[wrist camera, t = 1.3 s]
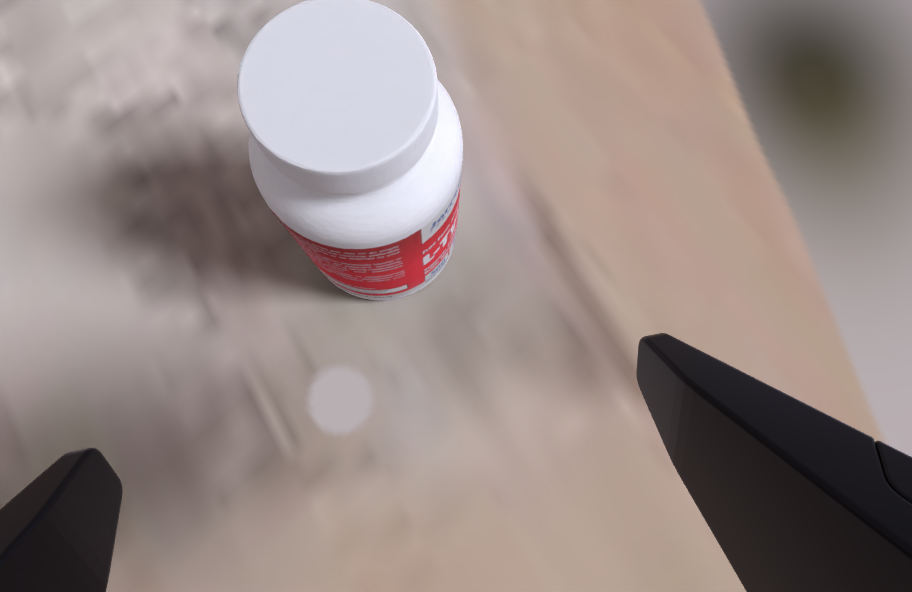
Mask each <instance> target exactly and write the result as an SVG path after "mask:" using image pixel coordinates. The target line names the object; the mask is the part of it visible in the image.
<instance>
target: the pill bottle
mask: <svg viewBox="0 0 912 592" xmlns="http://www.w3.org/2000/svg"><path fill="white" fill-rule="evenodd" d="M237 94H238V101H239V106H240V110H241V113H242V116H243V118H244V120H245V123H246V125H247V127H248V129H249V141H248V151H249V163H250V167H251V171H252V174H253V177H254V180H255V183H256V185H257V187H258V189H259V191H260V193H261V195H262V196H263V198H264V200H265V201H266V203H267V205H268V207H269V208H270V209H271V211H272V212H273V213H274V214H275V216H276V217H277V218H278V219H279V221H280V222H281V223H282V224H283V225H284V227H285V228H286V229H287V230H288V231H289V233H290V234H291V235H292V237H293V238H294V239H295V240H296V241H297V243H298V244H299V245H300V246H301V247H302V249H303V250H304V251H305V252H306V254H307V255H308V256H309V257H310V259H311V260H312V261H313V262H314V263H315V265H316V266H317V267H318V269H319V270H320V271H321V272H322V273H323V274H324V275H325V276H326V277H327V278H328V279H329V280H330V281H331V282H332V283H333V284H335V285H336V286H337V287H339V288H340V289H342V290H344V291H345V292H347V293H349V294H352V295H354V296H357V297H360V298H364V299H369V300H392V299H397V298H402V297H405V296H408V295H411V294H413V293H415V292H417V291H419V290H421V289H422V288H424V287H425V286H427V285H428V284H429V283H430V282H432V281H433V280H434V279H435V278H436V277H437V276H438V274H439V273H440V272H441V271H442V269H443V268H444V267H445V265H446V263H447V262H448V260H449V257H450V255H451V253H452V250H453V247H454V242H455V237H456V229H457V219H458V207H459V196H460V185H461V173H462V161H463V139H462V131H461V125H460V121H459V117H458V114H457V111H456V108H455V106H454V104H453V102H452V100H451V98H450V96H449V94H448V93H447V91H446V90H445V88H444V87H443V85H442V84H441V83H440V82H439V81H438V79H437V74H436V67H435V64H434V61H433V58H432V55H431V53H430V50H429V48H428V46H427V45H426V43H425V41H424V40H423V38H422V36H421V35H420V34H419V33H418V31H417V30H416V29H415V28H414V27H413V26H412V25H411V24H410V23H409V22H408V21H406V20H405V19H404V18H403V17H402V16H400V15H399V14H397V13H396V12H394V11H392V10H391V9H389V8H387V7H385V6H383V5H380V4H378V3H375V2H372V1H369V0H308V1H304V2H301V3H299V4H297V5H294V6H292V7H290V8H288V9H286V10H285V11H283V12H281V13H279V14H278V15H276V16H275V17H274V18H272V19H271V20H270V21H269V22H268V23H266V24H265V25H264V26H263V27H262V28H261V29H260V30H259V31H258V33H257V34H256V35H255V37H254V38H253V39H252V41H251V43H250V44H249V46H248V48H247V50H246V52H245V54H244V56H243V58H242V61H241V64H240V69H239V73H238V82H237Z"/></svg>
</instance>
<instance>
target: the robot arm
mask: <svg viewBox="0 0 912 592" xmlns="http://www.w3.org/2000/svg"><path fill="white" fill-rule="evenodd" d="M637 381H638V385H639V388H640V390H641V392H642V395H643V397H644V399H645V402H646V404H647V406H648V408H649V411H650V413H651V415H652V418H653V420H654V422H655V424H656V427H657V429H658V431H659V434H660V436H661V438H662V440H663V443H664V445H665V447H666V450H667V452H668V454H669V456H670V458H671V460H672V463H673V465H674V466H675V468H676V470H677V472H678V474H679V476H680V477H681V479H682V481H683V483H684V484H685V486H686V488H687V489H688V491H689V493H690V495H691V496H692V498H693V500H694V502H695V503H696V505H697V507H698V508H699V510H700V512H701V514H702V515H703V517H704V519H705V521H706V522H707V524H708V526H709V527H710V529H711V531H712V533H713V534H714V536H715V538H716V540H717V541H718V543H719V545H720V546H721V548H722V550H723V552H724V553H725V555H726V557H727V559H728V560H729V562H730V564H731V565H732V567H733V569H734V571H735V572H736V574H737V576H738V578H739V579H740V581H741V583H742V584H743V586H744V588H745V590H746V591H747V592H912V457H911V456H908V455H906V454H904V453H902V452H900V451H898V450H896V449H894V448H893V447H891V446H889V445H887V444H885V443H883V442H881V441H876V442H875V441H874V439H873V438H872V437H870V436H868V435H866V434H864V433H862V432H860V431H858V430H856V429H855V428H853V427H851V426H849V425H847V424H845V423H843V422H841V421H839V420H837V419H835V418H833V417H831V416H829V415H827V414H825V413H823V412H821V411H819V410H817V409H815V408H813V407H811V406H809V405H807V404H805V403H803V402H801V401H799V400H797V399H795V398H793V397H791V396H789V395H787V394H785V393H783V392H781V391H779V390H777V389H775V388H773V387H771V386H769V385H767V384H765V383H763V382H761V381H759V380H757V379H755V378H754V377H752V376H750V375H748V374H746V373H744V372H742V371H740V370H738V369H736V368H734V367H732V366H730V365H728V364H726V363H724V362H722V361H720V360H718V359H716V358H714V357H712V356H710V355H708V354H706V353H704V352H702V351H700V350H698V349H696V348H694V347H692V346H690V345H688V344H686V343H684V342H682V341H680V340H678V339H676V338H674V337H672V336H670V335H668V334H665V333H659V334H654V335H649V336H645V337H643V338H641V339H640V342H639V347H638V360H637ZM121 500H122V484H121V481H120V479H119V477H118V476H117V474H116V473H115V472H114V470H113V469H112V467H111V466H110V464H109V463H108V462H107V460H106V459H105V457H104V456H103V455H102V453H101V452H100V451H99V450H97V449H95V448H87V449H82V450H77V451H72V452H69V453H66V454H64V455H63V456H62V457H61V458H59V459H58V460H57V461H56V462H55V463H54V464H52V465H51V466H50V467H49V468H48V469H47V470H46V471H44V472H43V473H42V474H41V475H40V476H39V477H37V478H36V479H35V480H34V481H33V482H32V483H30V484H29V485H28V486H27V487H26V488H25V489H23V490H22V491H21V492H20V493H19V494H18V495H17V496H15V497H14V498H13V499H12V500H11V501H10V502H8V503H7V504H6V505H5V506H4V507H3V508H1V509H0V592H106V588H107V583H108V578H109V573H110V567H111V561H112V555H113V549H114V543H115V537H116V530H117V524H118V518H119V512H120V506H121Z"/></svg>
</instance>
